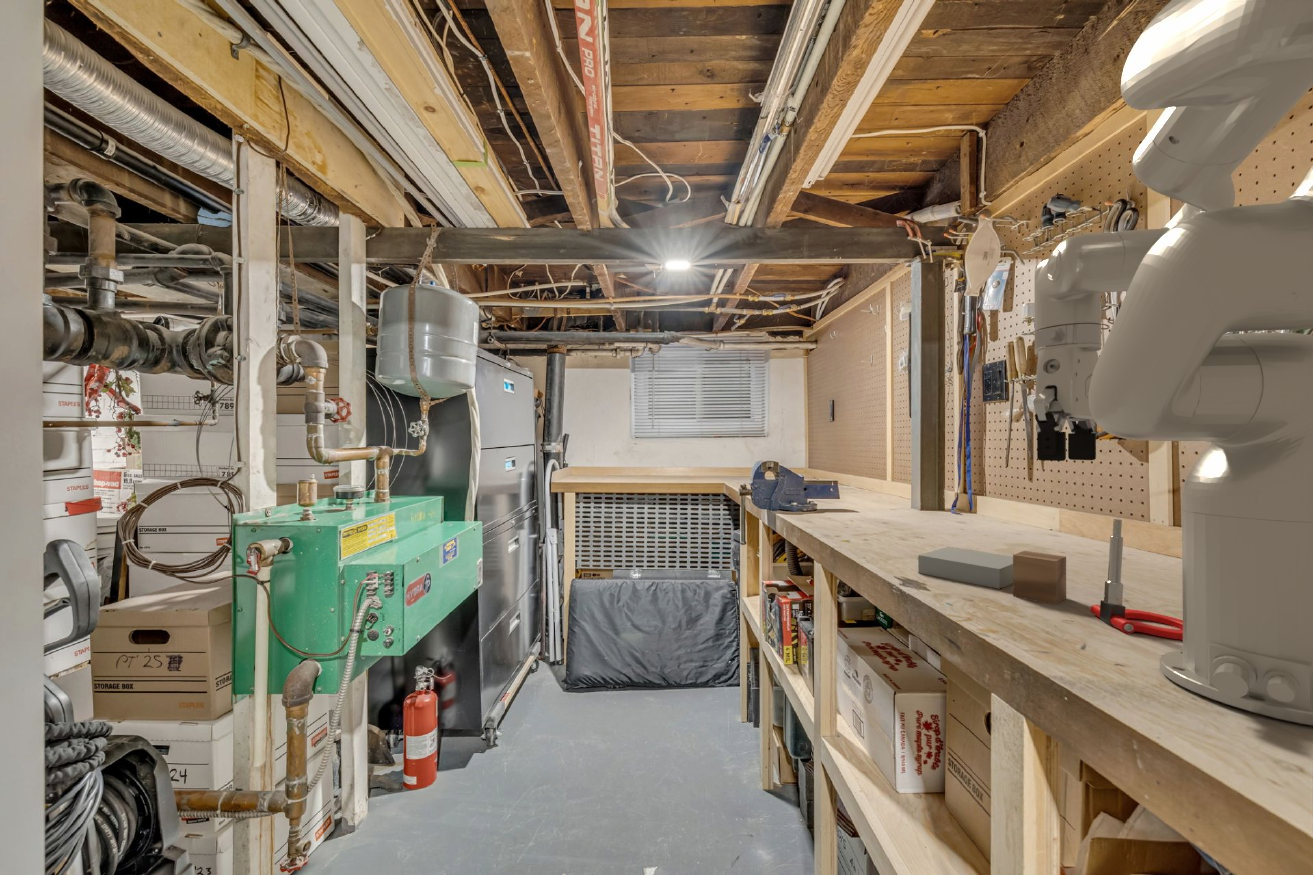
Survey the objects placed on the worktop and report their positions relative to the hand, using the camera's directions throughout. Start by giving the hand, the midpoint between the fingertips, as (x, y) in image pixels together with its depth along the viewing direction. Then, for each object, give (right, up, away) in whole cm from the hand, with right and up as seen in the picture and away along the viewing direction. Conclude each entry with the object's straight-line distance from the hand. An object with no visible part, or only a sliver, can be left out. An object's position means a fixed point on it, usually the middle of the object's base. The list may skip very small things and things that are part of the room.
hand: (1067, 460), depth 73 cm
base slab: (-6, -20, +12) cm, 24 cm away
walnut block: (-4, -20, 0) cm, 20 cm away
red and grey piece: (0, -20, -12) cm, 23 cm away
